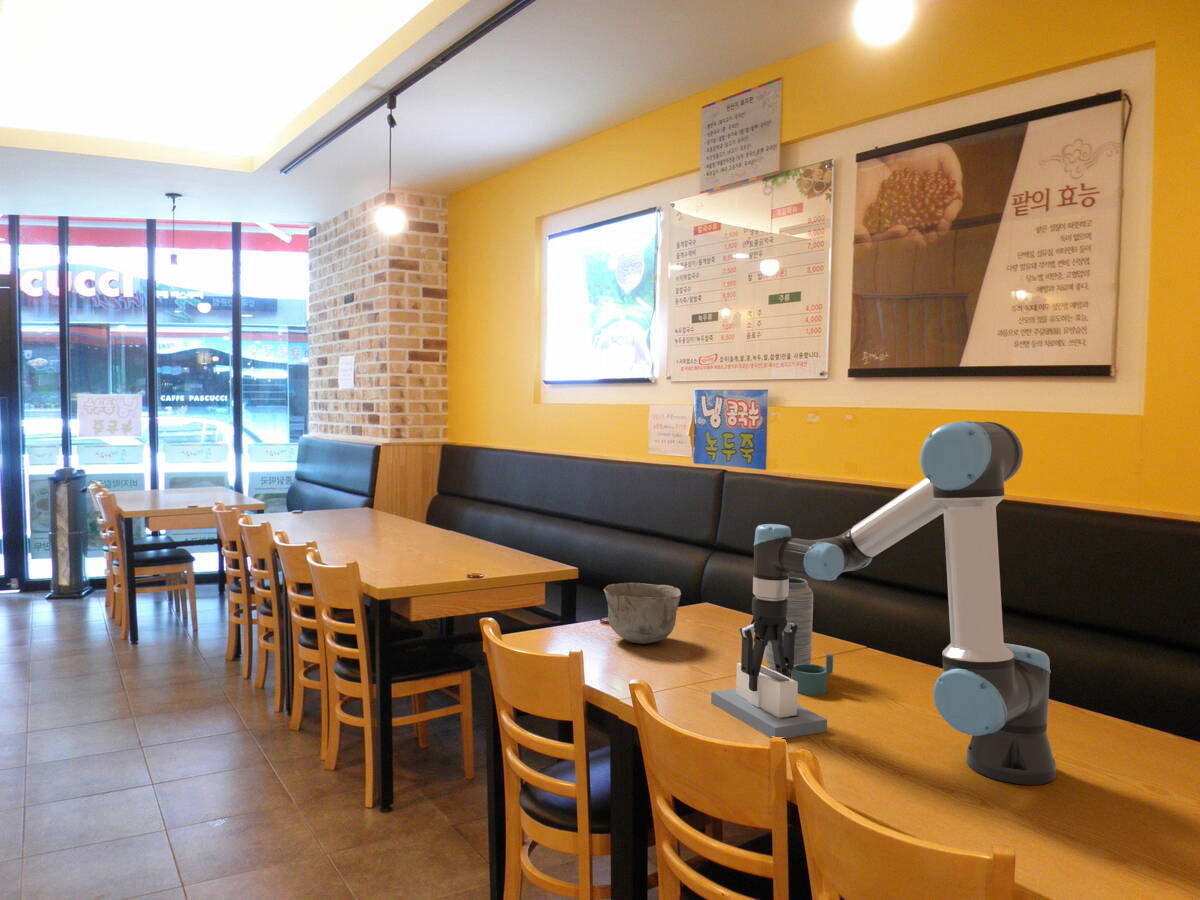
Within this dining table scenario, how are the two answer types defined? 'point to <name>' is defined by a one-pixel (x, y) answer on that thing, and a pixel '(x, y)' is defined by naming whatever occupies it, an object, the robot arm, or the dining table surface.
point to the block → (771, 691)
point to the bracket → (812, 677)
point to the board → (769, 716)
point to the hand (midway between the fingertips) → (766, 703)
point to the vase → (797, 622)
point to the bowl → (642, 610)
